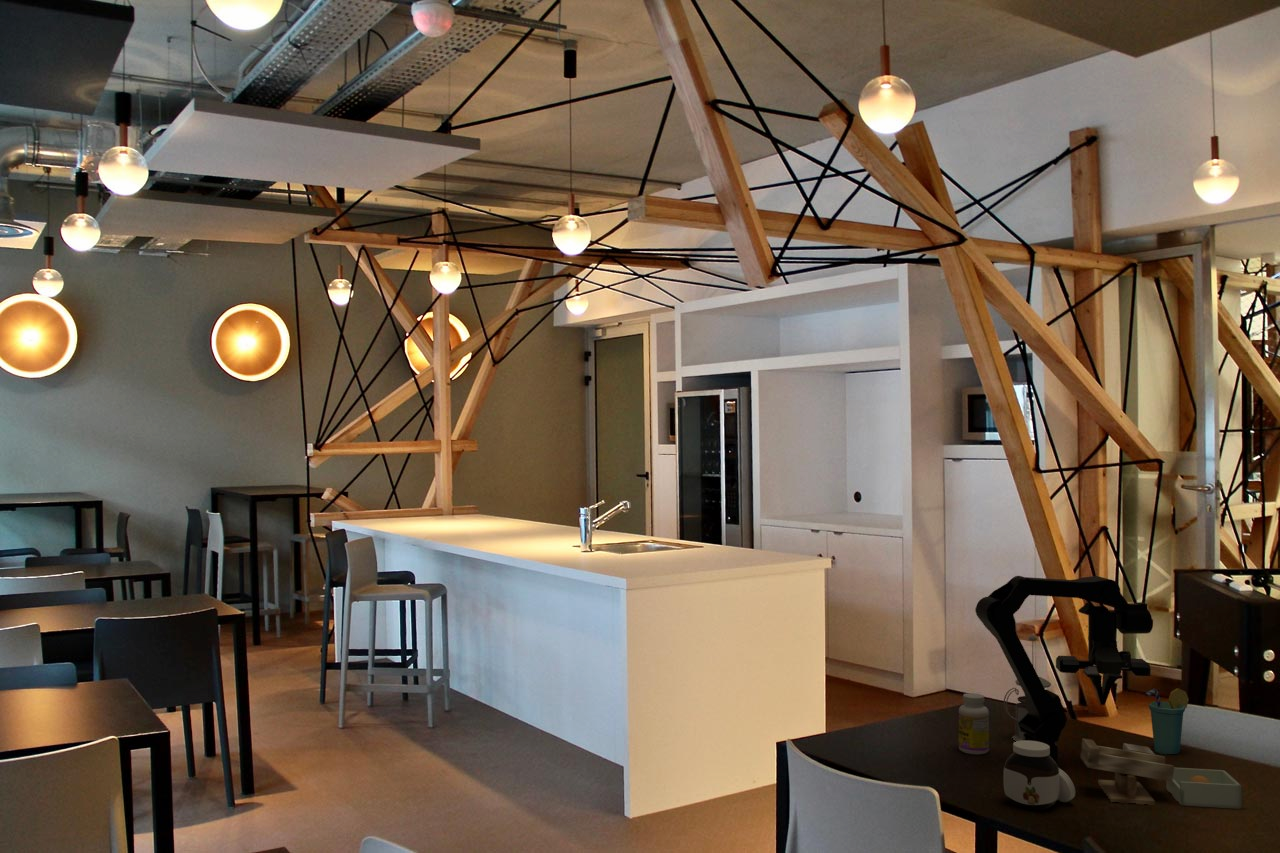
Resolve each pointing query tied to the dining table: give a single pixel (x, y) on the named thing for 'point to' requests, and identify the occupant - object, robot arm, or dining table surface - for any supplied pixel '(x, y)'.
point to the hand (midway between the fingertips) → (1102, 704)
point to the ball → (1199, 779)
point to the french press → (1022, 702)
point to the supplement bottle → (973, 725)
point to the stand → (1126, 790)
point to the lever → (1126, 760)
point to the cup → (1168, 721)
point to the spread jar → (1035, 777)
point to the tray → (1205, 788)
